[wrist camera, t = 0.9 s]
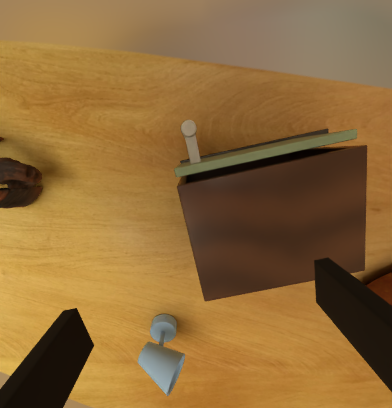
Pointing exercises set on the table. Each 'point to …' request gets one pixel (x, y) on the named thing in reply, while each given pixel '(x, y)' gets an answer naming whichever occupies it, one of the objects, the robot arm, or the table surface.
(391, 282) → the bread
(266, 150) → the sliding door
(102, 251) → the table surface
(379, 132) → the table surface
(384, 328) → the robot arm
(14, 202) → the broken clay pot
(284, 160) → the cupboard
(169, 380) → the spotlight
